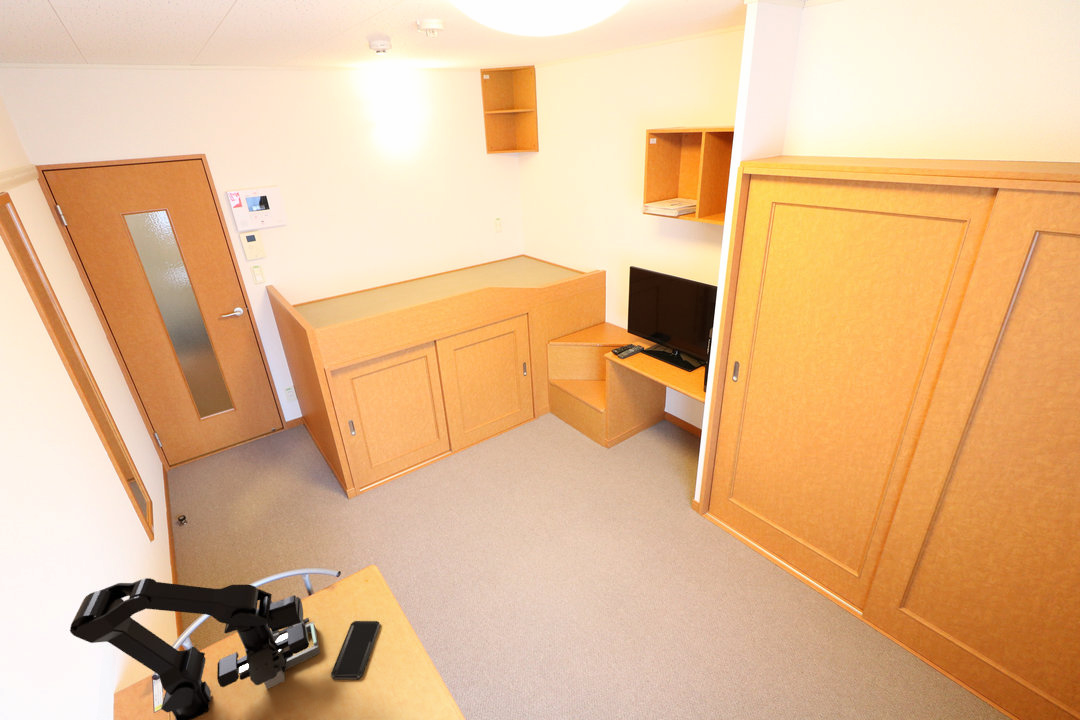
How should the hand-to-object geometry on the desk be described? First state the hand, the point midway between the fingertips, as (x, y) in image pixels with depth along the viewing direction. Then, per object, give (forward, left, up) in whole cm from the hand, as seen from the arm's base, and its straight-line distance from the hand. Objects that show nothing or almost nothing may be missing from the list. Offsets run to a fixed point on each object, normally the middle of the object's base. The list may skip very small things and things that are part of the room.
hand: (274, 675), depth 121 cm
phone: (+19, -3, -2) cm, 19 cm away
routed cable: (+4, +11, -1) cm, 12 cm away
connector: (0, 0, -1) cm, 1 cm away
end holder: (+6, +5, -1) cm, 8 cm away
